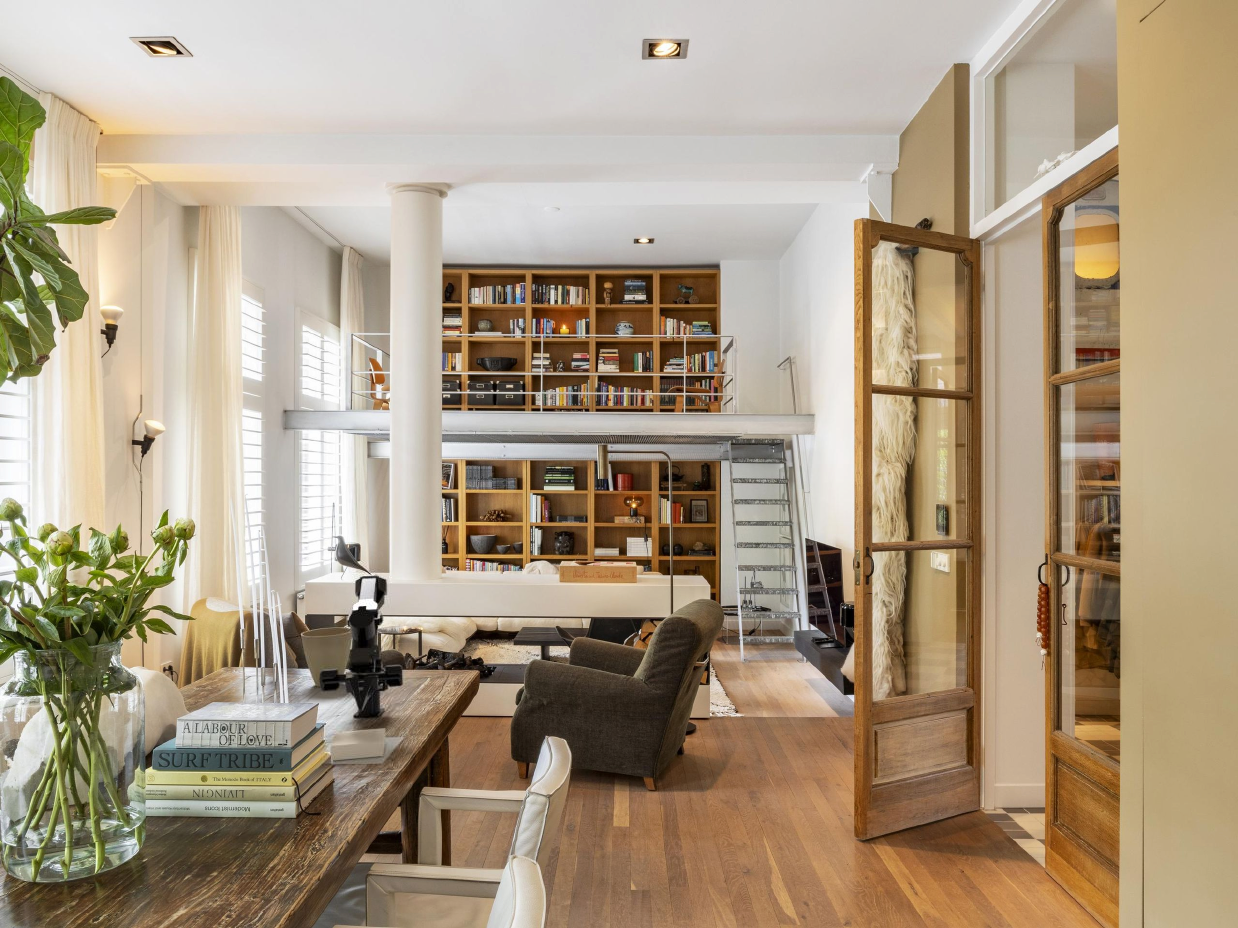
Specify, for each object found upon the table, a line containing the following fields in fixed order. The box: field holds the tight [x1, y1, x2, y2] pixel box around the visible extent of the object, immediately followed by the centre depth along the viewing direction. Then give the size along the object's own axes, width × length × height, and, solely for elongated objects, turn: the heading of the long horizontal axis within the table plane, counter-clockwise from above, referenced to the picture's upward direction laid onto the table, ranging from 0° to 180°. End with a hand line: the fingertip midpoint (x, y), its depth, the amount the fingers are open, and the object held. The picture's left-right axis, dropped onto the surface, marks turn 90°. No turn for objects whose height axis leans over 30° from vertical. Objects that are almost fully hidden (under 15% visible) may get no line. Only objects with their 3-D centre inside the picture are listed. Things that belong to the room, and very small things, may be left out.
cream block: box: [331, 727, 386, 761], centre depth 186 cm, size 4×11×10 cm
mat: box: [326, 736, 405, 765], centre depth 187 cm, size 18×16×1 cm
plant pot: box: [300, 627, 352, 688], centre depth 251 cm, size 15×15×16 cm
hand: (360, 710), depth 191 cm, fingers closed
